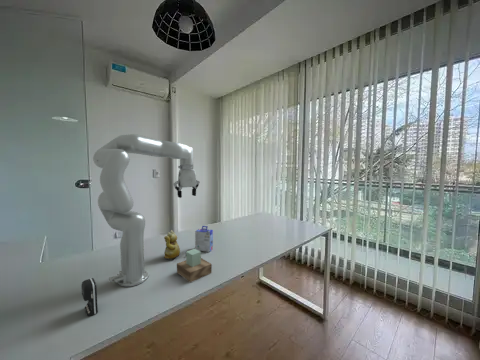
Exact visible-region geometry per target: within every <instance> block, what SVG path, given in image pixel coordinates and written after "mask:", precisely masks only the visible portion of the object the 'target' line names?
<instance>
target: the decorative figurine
mask: <svg viewBox="0 0 480 360" xmlns="http://www.w3.org/2000/svg"><path fill="white" fill-rule="evenodd" d="M163 238H164V241H165V249H164V257H163V258H164V259H165V260H171V261H172V260H174V259H176V258H177V257H179V255H180V254H181V253H180V252H181V248H180V245H179V244H178V241H177V239H178V235H177V234H176V233H175V231H173V229H170V232H169V231H167V235H165V236H164V237H163Z"/></svg>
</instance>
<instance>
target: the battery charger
mask: <svg viewBox="0 0 480 360" xmlns="http://www.w3.org/2000/svg"><path fill="white" fill-rule="evenodd" d="M80 286H81V288H80V289H81V290H80V291H81V296H82V298H83V301H85V302H87V303H86V305H85V307H84V311H85V313H86V316H88V317H91V316H93V315H96V314H98V313H99V311H98V310H99V308H98V289H97V282H96V280H95V278H93V277H90V278H88V279H85V280H82V282H81V285H80Z"/></svg>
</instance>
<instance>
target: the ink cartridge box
mask: <svg viewBox="0 0 480 360" xmlns="http://www.w3.org/2000/svg"><path fill="white" fill-rule="evenodd" d="M194 232H195V233H194V234H195V235H194V245H195V246H194V249H196V250H198V251H200V252H207V253H210V252H212V250H213V246H214V245H213V243H214V239H213V238H214V230H213V229H208V226H207V225H202V227H201V229H200V228H198V229H196V230H195V231H194Z"/></svg>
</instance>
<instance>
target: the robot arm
mask: <svg viewBox="0 0 480 360" xmlns="http://www.w3.org/2000/svg"><path fill="white" fill-rule="evenodd" d="M130 154H136V155H137V154H138V155H142V156H149V157H150V156H151V157H156V158H157V157H158V158H169V159H172V160H179V165H178V166H177V167H178V169H179V170H178V174H177V175H178V176H177V180H176V181H174V182H173V184H172V185H173V187H174V189H175V190H176V191H177V194H176V195H177V198H179V199H181V198H182V197H183V191H182V189H184V188H192V189H191V195H192V196H197V189H198V187H199V185H200V181H199V180H198V179H197V175H196V170H195V169H194V148H193V147H192V146H189V145H187V144H185V143H180V142H176V141H175V142H174V141H168V140H162V139H157V138H153V137H148V136H145V135H140V134H135V133H132V134H129V133H128V134H120V135H118V136H117V137H114V138H113V139H111V140H110V141H109V142H107V143H106V144H104V145H103V146H101V147H100V148H98V149H97V150H96V151H95V152H94V153H93V157H92V161H93V163H94V164H95V166H97V167H98V168H100V169H101V172H100V175H99V184H100V186H101V189H102V192H100V193H99V195H98V198H97V205H98V208H99V211H100V212H101V214H102V215H103V217H104V219H105V221H106V223H107V224H108V226H109V227H110V228H112V229H113V230H116V231H119V232H122V236H121V238H120V242H119V243H120V244H119V248H120V250H119V251H120V267H121V268H120V269H121V270H119V271H118V273H117V274H116V275H113V276H110V277H109V278H108V280H109V282H110V283H112V282H114V283H117V284H118V285H119V286H120V287H133V286H137V285H141V284H142V283H144V282H146V281H147V279H148V278H149V272H148V271H146V270H145V248H144V247H145V246H144V245H145V243H144V242H145V241H144V235H145V228H146V219H145V217H144V215H143V214H141V213H140V212H138V211H133V210H132V209H133V207H134V200H133V197H132V195H131V193H130V191H129V189H128V186H127V184H126V181H125V177H124V175H125V172H126V169H127V168H128V165H129V163H130V160H131V159H130Z"/></svg>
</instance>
